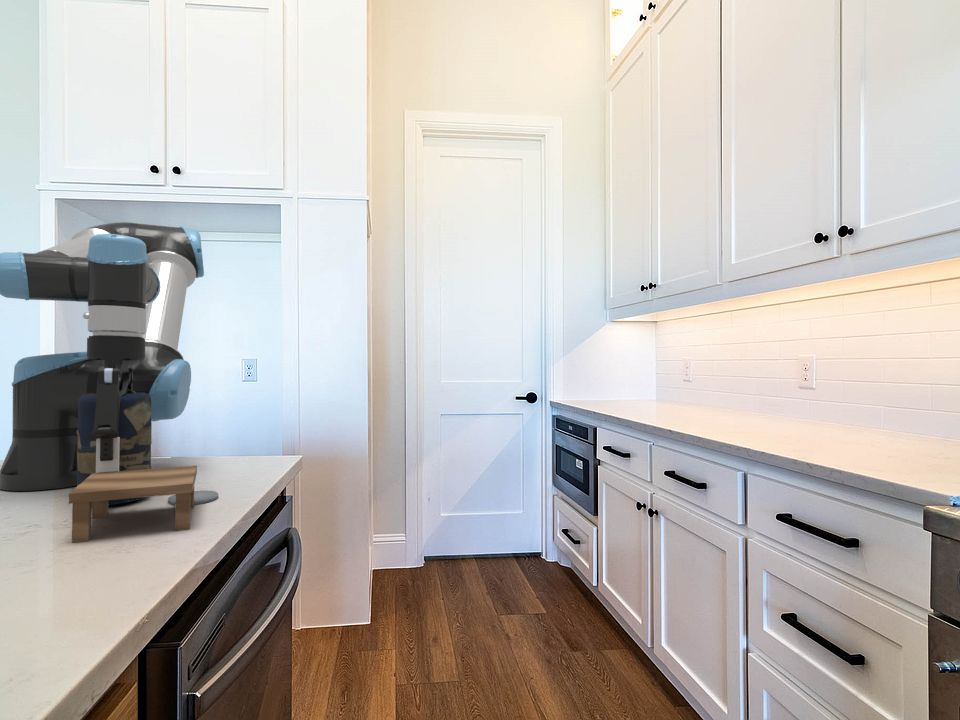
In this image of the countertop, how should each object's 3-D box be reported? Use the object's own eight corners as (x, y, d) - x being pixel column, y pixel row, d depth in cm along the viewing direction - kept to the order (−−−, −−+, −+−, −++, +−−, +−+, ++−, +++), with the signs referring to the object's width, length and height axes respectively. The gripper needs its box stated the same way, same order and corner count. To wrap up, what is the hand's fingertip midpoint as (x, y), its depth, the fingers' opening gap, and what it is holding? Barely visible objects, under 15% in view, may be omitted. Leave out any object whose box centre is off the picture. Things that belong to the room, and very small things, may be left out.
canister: (112, 511, 76) (114, 388, 76) (59, 507, 77) (61, 387, 78) (164, 495, 85) (166, 385, 85) (116, 492, 87) (117, 384, 87)
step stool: (92, 515, 74) (92, 472, 74) (196, 504, 80) (196, 465, 80) (68, 543, 62) (68, 493, 62) (191, 529, 68) (192, 483, 68)
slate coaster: (170, 496, 84) (170, 493, 84) (218, 492, 87) (218, 488, 87) (165, 507, 78) (165, 503, 78) (218, 502, 81) (218, 498, 81)
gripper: (103, 337, 90) (101, 462, 90) (67, 330, 69) (64, 494, 69) (154, 338, 94) (152, 459, 94) (134, 332, 72) (131, 488, 72)
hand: (115, 474), depth 81 cm, fingers open, 11 cm apart
